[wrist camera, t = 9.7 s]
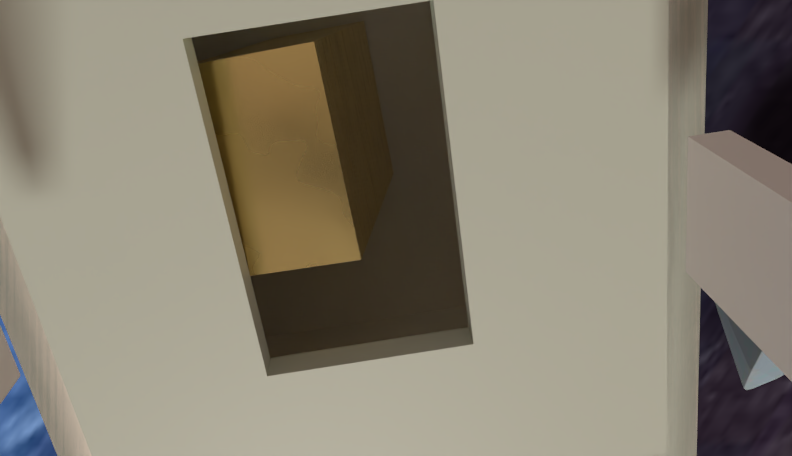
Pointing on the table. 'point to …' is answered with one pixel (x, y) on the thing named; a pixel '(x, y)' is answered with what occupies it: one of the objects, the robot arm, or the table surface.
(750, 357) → the gemstone
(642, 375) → the coin box
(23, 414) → the table surface
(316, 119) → the tan rectangular block
